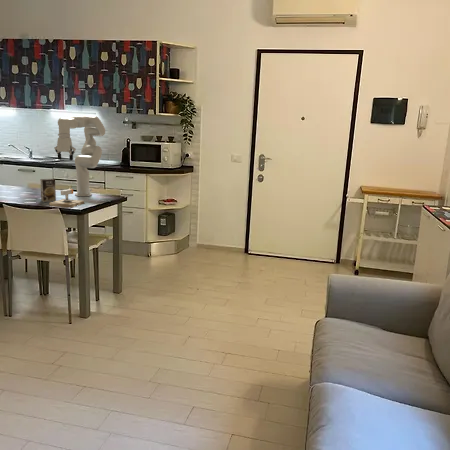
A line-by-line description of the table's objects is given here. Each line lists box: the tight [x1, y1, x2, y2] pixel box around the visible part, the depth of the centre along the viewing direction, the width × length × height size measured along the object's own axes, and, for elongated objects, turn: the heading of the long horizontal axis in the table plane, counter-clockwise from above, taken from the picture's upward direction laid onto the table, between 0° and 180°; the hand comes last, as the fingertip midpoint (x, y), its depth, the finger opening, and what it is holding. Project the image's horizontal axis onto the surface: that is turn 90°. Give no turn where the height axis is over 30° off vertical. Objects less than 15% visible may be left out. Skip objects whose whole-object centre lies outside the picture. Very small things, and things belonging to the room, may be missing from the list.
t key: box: [60, 188, 74, 202], centre depth 333 cm, size 10×4×8 cm, turn 154°
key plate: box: [48, 198, 85, 208], centre depth 334 cm, size 17×17×2 cm
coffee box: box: [40, 178, 57, 203], centre depth 342 cm, size 9×6×16 cm
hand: (65, 159), depth 342 cm, fingers open, 9 cm apart
